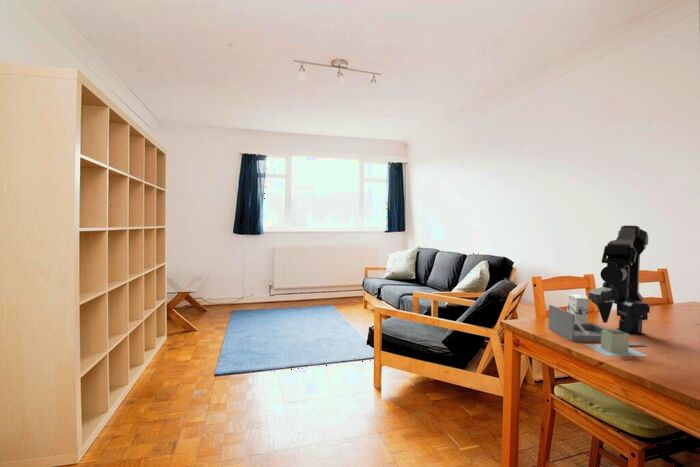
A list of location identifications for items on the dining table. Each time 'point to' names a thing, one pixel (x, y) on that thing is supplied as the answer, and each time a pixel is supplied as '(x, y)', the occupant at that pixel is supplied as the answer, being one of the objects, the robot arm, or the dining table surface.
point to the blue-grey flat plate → (598, 348)
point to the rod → (636, 344)
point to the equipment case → (572, 326)
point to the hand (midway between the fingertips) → (615, 326)
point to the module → (614, 341)
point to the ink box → (578, 307)
